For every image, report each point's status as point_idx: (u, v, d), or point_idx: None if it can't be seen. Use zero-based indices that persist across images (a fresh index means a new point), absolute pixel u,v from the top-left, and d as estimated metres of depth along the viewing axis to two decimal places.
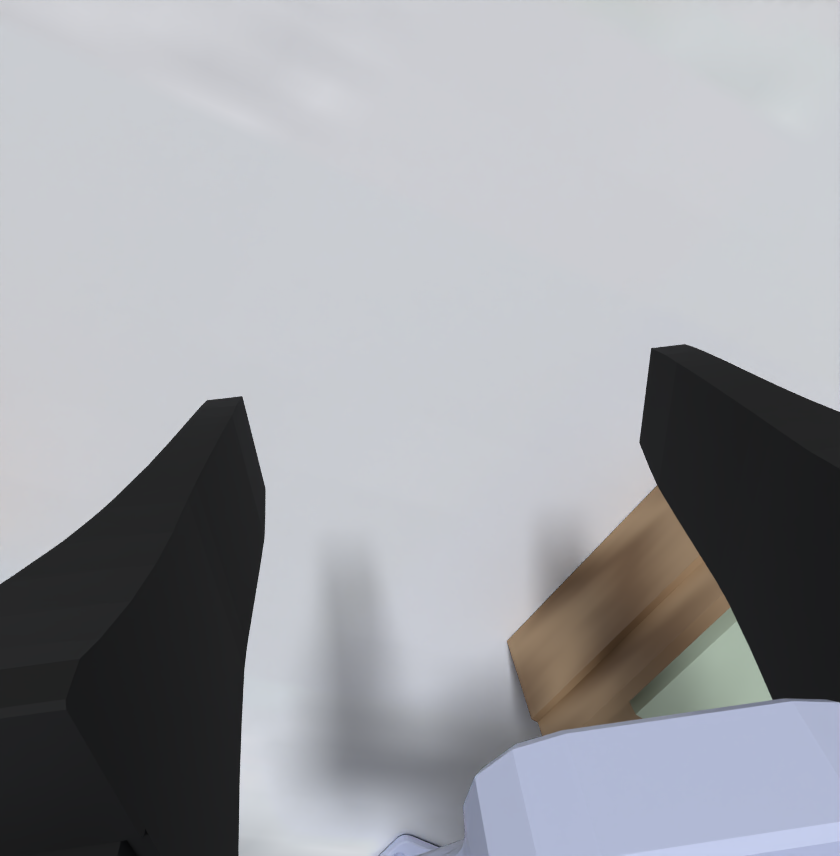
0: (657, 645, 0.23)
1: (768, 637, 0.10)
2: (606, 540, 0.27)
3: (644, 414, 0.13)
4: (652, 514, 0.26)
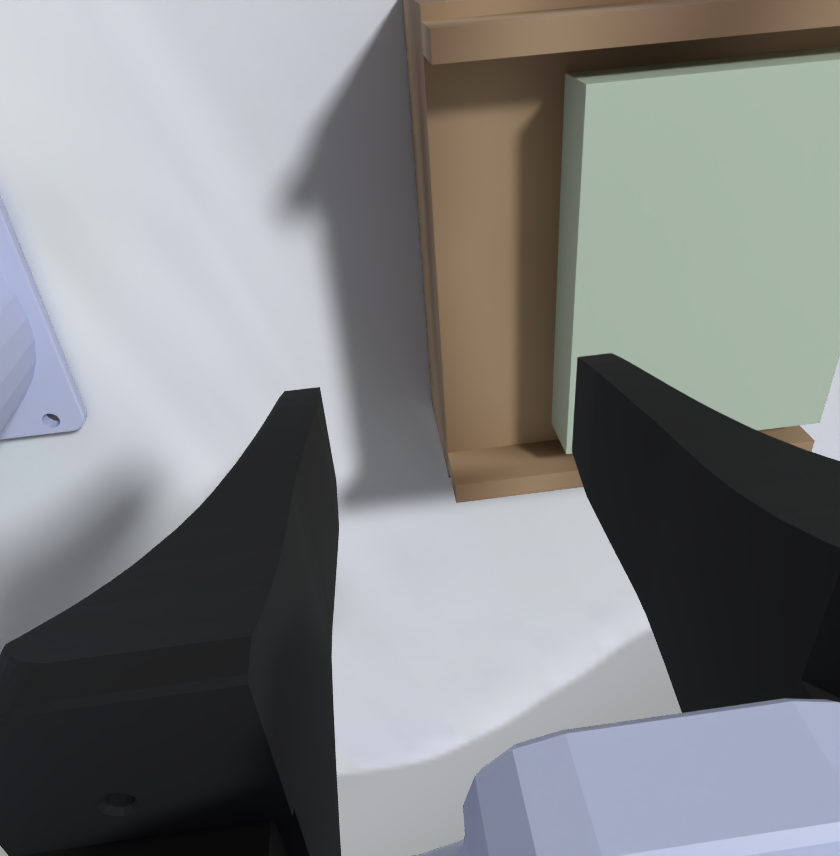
0: (707, 0, 0.14)
1: (677, 650, 0.10)
2: None
3: (574, 423, 0.13)
4: None
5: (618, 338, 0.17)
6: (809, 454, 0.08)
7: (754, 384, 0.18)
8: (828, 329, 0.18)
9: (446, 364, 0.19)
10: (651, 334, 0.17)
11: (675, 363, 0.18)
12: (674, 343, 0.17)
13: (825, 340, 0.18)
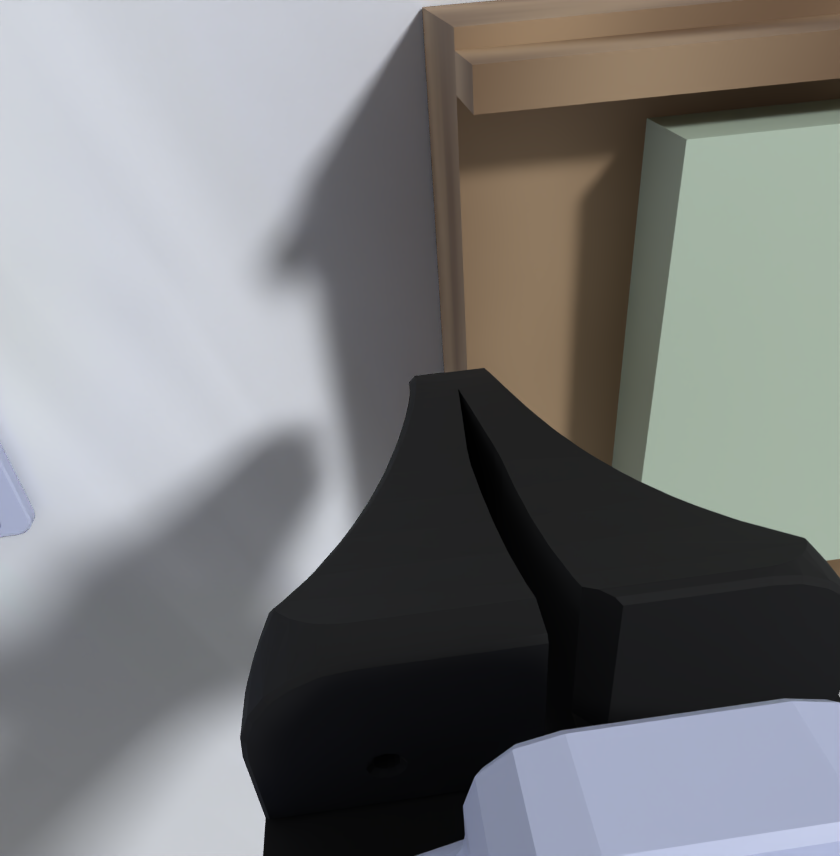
0: None
1: None
2: None
3: None
4: None
5: (703, 455, 0.13)
6: (623, 477, 0.08)
7: None
8: None
9: None
10: (746, 450, 0.13)
11: (774, 482, 0.14)
12: (774, 459, 0.14)
13: None
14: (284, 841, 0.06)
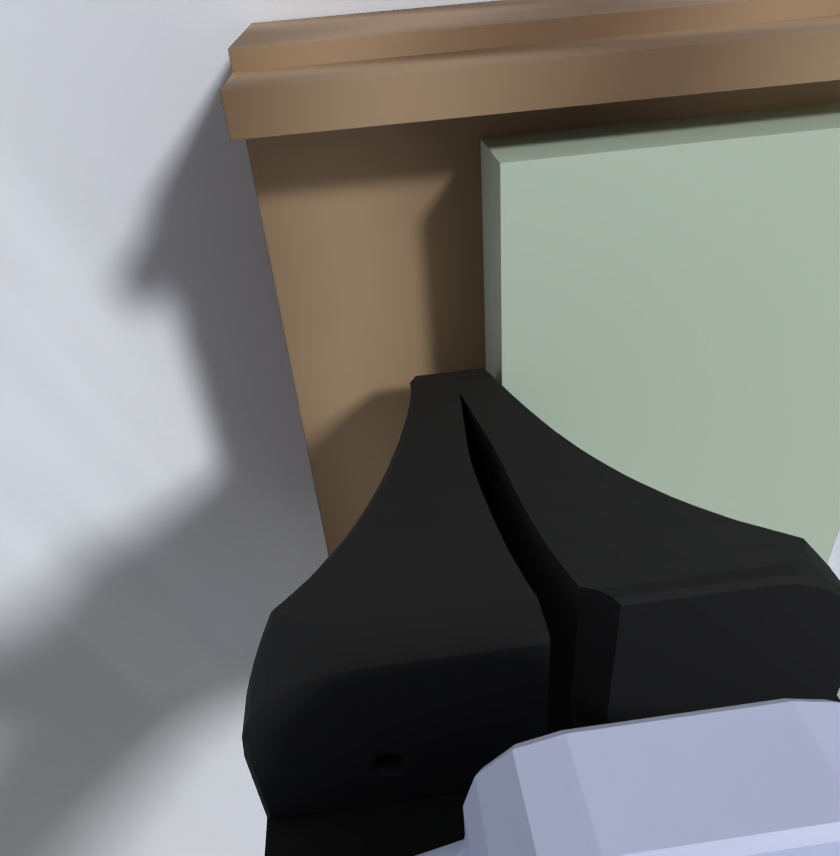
0: (630, 47, 0.09)
1: None
2: None
3: None
4: None
5: None
6: (621, 478, 0.08)
7: None
8: (839, 459, 0.14)
9: (323, 497, 0.15)
10: None
11: None
12: (638, 481, 0.13)
13: (835, 472, 0.14)
14: (286, 841, 0.06)
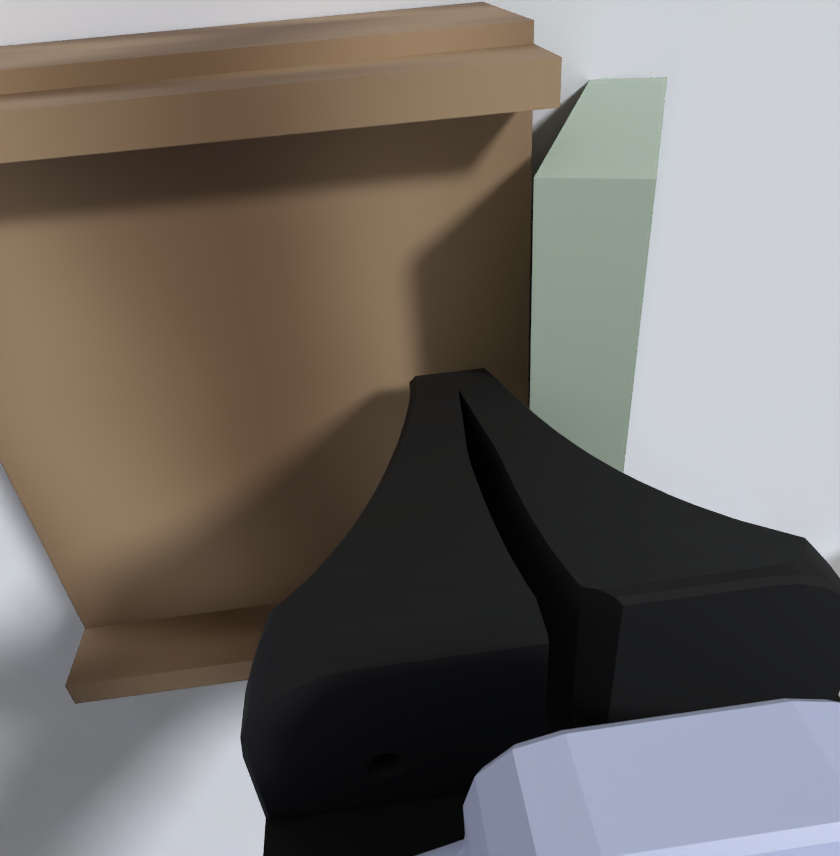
0: (201, 87, 0.09)
1: None
2: (262, 22, 0.13)
3: None
4: (373, 16, 0.13)
5: None
6: (623, 477, 0.08)
7: None
8: None
9: (43, 532, 0.14)
10: None
11: None
12: None
13: None
14: (284, 841, 0.06)
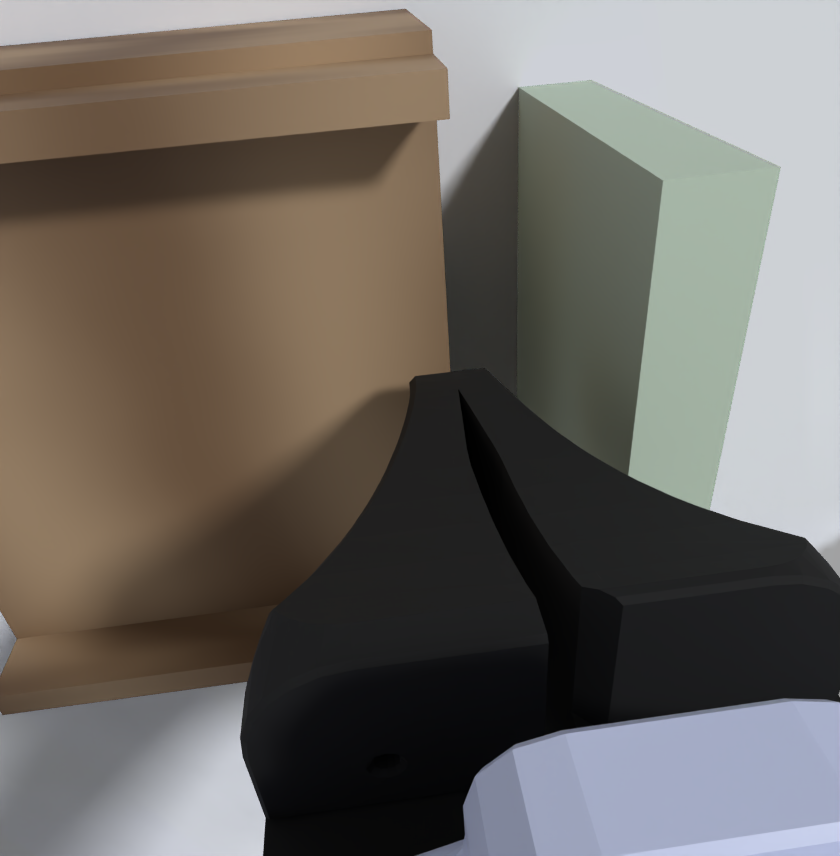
0: (82, 99, 0.09)
1: None
2: (181, 30, 0.13)
3: None
4: (290, 24, 0.13)
5: None
6: (623, 478, 0.08)
7: None
8: None
9: None
10: None
11: None
12: None
13: None
14: (284, 841, 0.06)
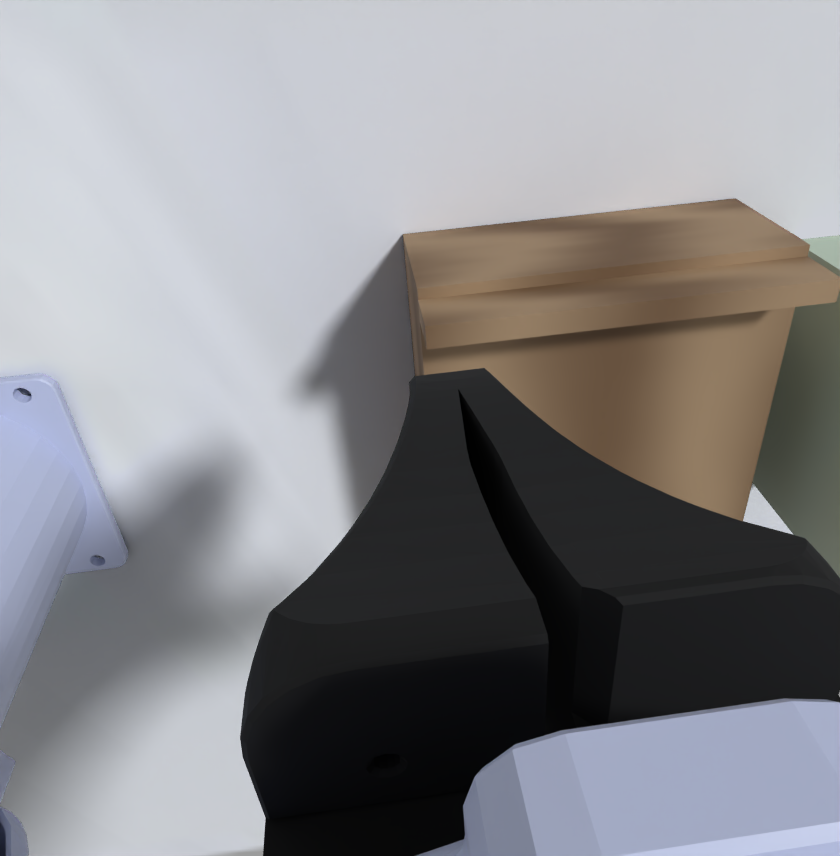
0: (647, 295, 0.17)
1: None
2: (600, 214, 0.21)
3: None
4: (679, 216, 0.20)
5: None
6: (623, 477, 0.08)
7: None
8: None
9: None
10: None
11: None
12: None
13: None
14: (284, 841, 0.06)
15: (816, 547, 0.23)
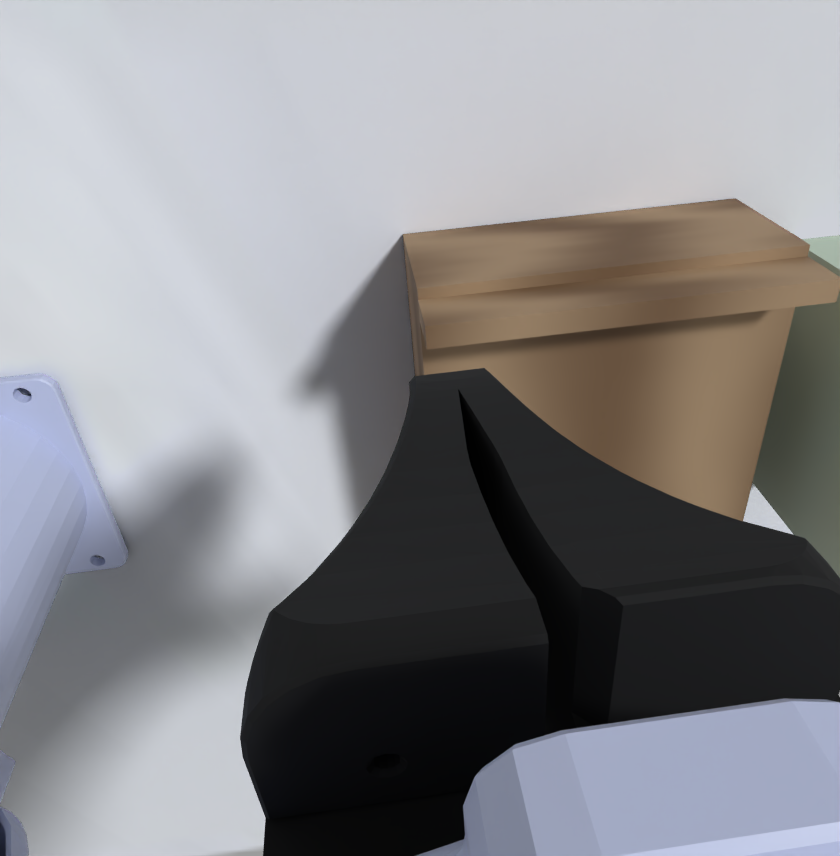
0: (647, 295, 0.17)
1: None
2: (600, 214, 0.21)
3: None
4: (679, 216, 0.20)
5: None
6: (623, 477, 0.08)
7: None
8: None
9: None
10: None
11: None
12: None
13: None
14: (284, 841, 0.06)
15: (816, 547, 0.23)
